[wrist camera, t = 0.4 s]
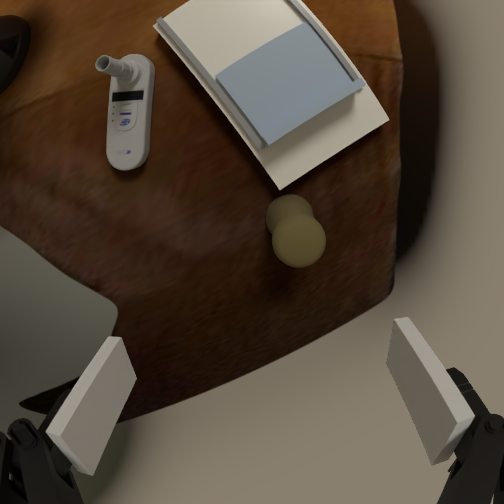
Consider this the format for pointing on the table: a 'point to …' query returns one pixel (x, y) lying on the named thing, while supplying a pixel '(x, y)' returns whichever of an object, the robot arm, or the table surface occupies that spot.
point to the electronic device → (128, 109)
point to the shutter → (287, 82)
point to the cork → (295, 231)
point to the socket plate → (247, 40)
